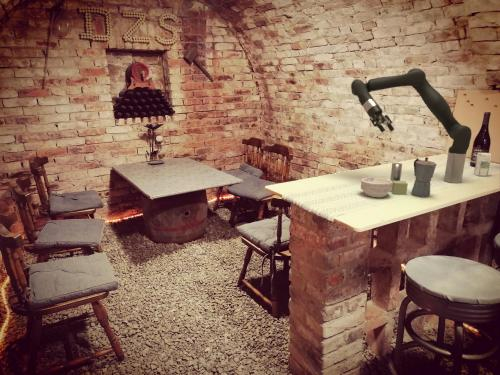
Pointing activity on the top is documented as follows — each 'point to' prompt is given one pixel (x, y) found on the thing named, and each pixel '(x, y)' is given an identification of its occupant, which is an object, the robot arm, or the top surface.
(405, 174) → the top surface
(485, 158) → the syrup box
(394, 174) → the flanged base cylinder
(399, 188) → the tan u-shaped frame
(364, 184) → the paper bowls
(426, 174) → the moka pot
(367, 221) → the top surface
